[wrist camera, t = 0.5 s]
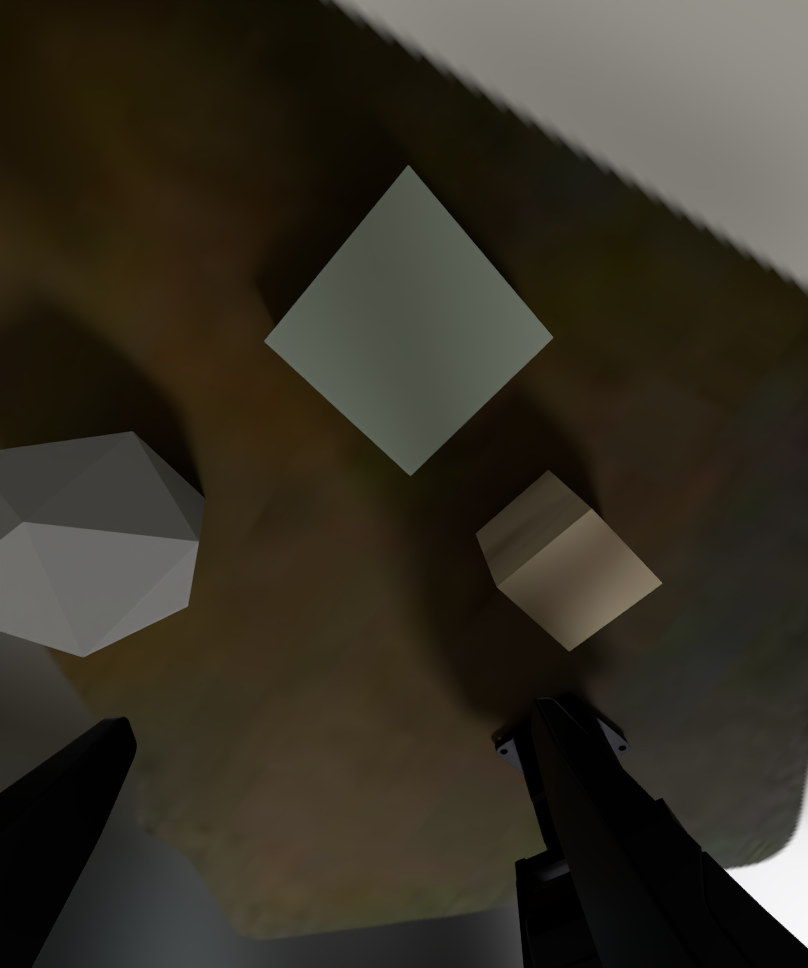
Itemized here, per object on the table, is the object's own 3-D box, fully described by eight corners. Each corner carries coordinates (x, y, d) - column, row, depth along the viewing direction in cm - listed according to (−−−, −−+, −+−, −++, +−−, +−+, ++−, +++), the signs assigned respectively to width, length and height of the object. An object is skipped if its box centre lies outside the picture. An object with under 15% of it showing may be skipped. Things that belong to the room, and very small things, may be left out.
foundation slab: (529, 336, 19) (553, 337, 16) (408, 456, 21) (410, 476, 18) (406, 192, 17) (408, 164, 14) (283, 339, 19) (264, 341, 16)
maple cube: (605, 530, 22) (662, 583, 18) (534, 587, 23) (569, 651, 19) (547, 469, 21) (591, 508, 16) (475, 532, 22) (496, 586, 17)
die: (160, 376, 20) (-188, 421, 12) (277, 504, 17) (-66, 657, 10) (154, 494, 25) (-91, 575, 17) (243, 604, 22) (3, 753, 15)
